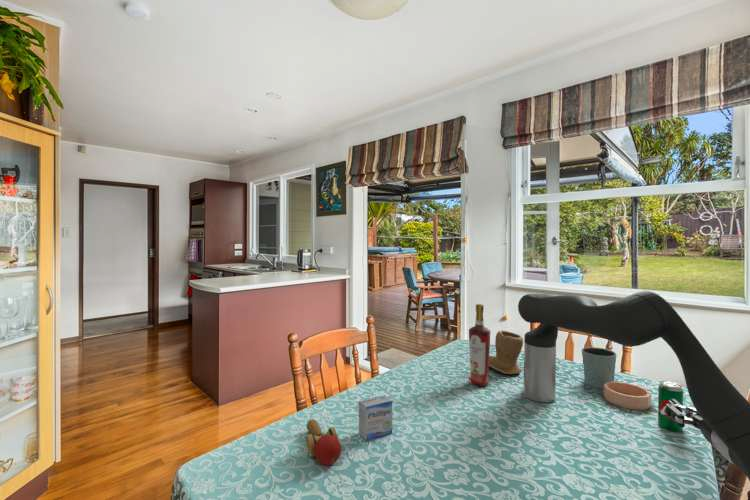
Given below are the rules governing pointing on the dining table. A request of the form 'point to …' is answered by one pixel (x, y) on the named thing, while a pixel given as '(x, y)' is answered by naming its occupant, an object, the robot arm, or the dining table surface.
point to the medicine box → (375, 417)
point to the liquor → (479, 349)
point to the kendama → (323, 443)
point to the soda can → (666, 393)
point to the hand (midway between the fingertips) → (694, 405)
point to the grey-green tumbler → (598, 366)
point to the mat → (651, 409)
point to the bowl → (627, 395)
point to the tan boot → (506, 352)
